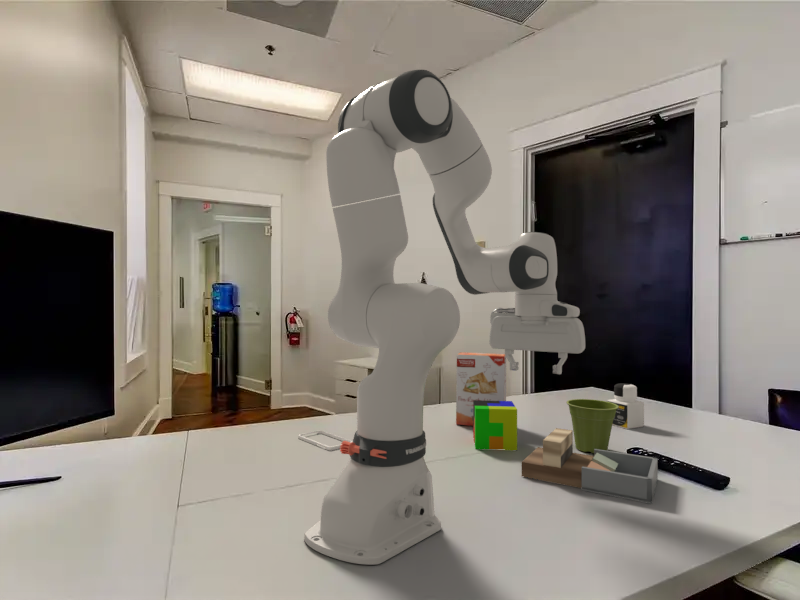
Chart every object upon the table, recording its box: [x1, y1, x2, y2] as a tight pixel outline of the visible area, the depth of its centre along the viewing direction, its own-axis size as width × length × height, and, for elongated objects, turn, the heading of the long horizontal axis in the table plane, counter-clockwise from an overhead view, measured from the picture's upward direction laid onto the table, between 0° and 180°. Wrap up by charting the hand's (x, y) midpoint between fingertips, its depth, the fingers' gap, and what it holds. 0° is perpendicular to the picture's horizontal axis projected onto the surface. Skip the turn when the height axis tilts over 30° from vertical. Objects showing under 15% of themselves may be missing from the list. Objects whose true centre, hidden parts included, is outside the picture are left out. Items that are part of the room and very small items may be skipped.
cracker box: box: [455, 351, 507, 427], centre depth 142 cm, size 14×6×21 cm, turn 73°
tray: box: [581, 449, 659, 505], centre depth 96 cm, size 14×12×4 cm
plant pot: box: [566, 398, 619, 454], centre depth 118 cm, size 12×12×11 cm
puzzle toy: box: [472, 400, 518, 451], centre depth 123 cm, size 10×10×10 cm
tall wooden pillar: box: [542, 427, 574, 468], centre depth 102 cm, size 11×4×5 cm, turn 149°
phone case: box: [297, 430, 353, 451], centre depth 125 cm, size 7×1×15 cm
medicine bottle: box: [607, 382, 645, 430], centre depth 142 cm, size 7×7×12 cm
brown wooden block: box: [521, 446, 594, 489], centre depth 102 cm, size 12×12×3 cm
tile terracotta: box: [588, 461, 610, 471], centre depth 95 cm, size 4×4×2 cm
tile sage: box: [592, 453, 618, 472], centre depth 100 cm, size 4×4×2 cm
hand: (535, 372), depth 105 cm, fingers open, 8 cm apart
